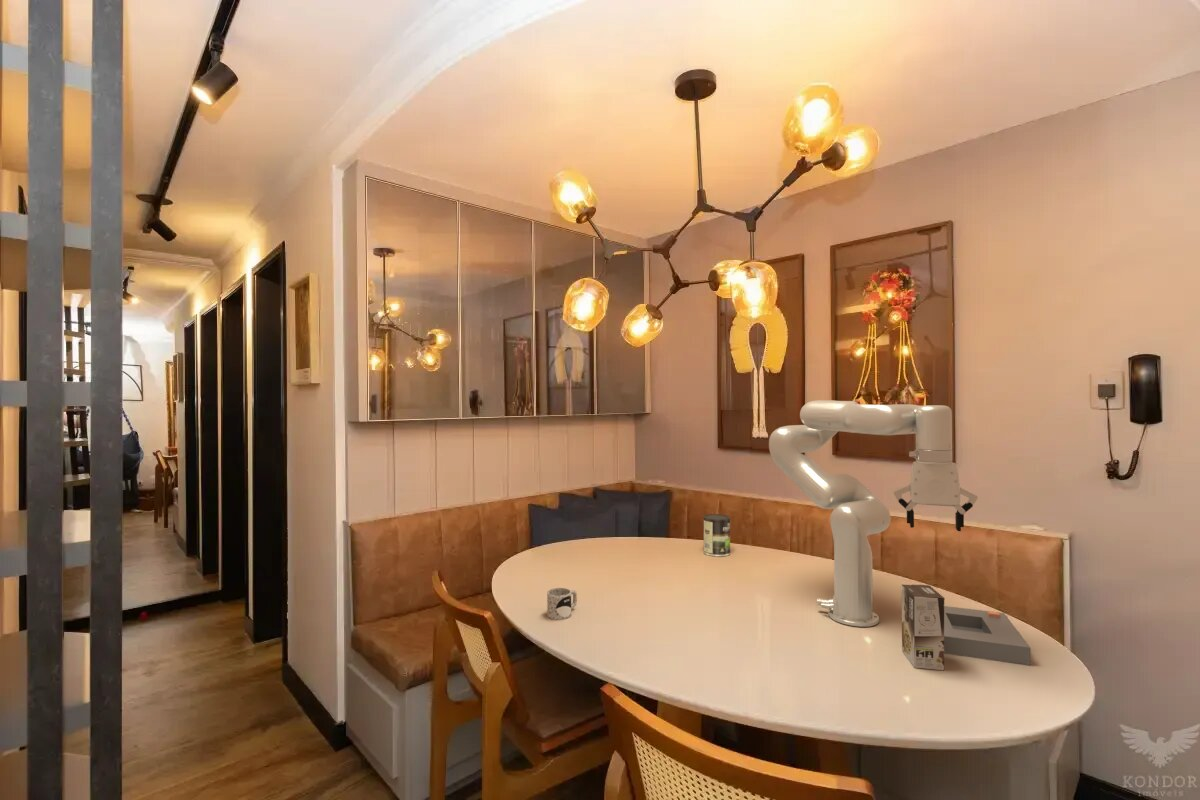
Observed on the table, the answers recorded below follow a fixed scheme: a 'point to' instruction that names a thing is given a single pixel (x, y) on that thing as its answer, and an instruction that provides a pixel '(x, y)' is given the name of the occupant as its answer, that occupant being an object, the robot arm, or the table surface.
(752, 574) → the table surface
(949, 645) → the socket
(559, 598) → the mug
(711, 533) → the coffee can
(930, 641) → the coffee box
